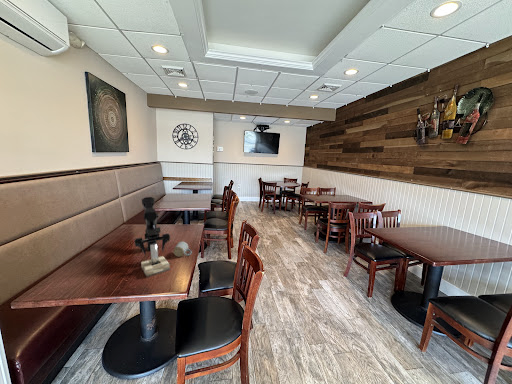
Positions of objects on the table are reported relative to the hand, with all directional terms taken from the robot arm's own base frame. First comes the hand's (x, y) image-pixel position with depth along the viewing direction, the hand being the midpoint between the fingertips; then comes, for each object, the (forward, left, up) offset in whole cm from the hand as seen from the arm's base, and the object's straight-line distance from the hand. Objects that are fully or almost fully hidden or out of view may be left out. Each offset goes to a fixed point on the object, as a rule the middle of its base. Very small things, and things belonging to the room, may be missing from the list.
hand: (154, 253), depth 122 cm
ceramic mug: (-5, +19, -9) cm, 21 cm away
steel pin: (+3, -1, -7) cm, 8 cm away
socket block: (+3, -1, -8) cm, 9 cm away
